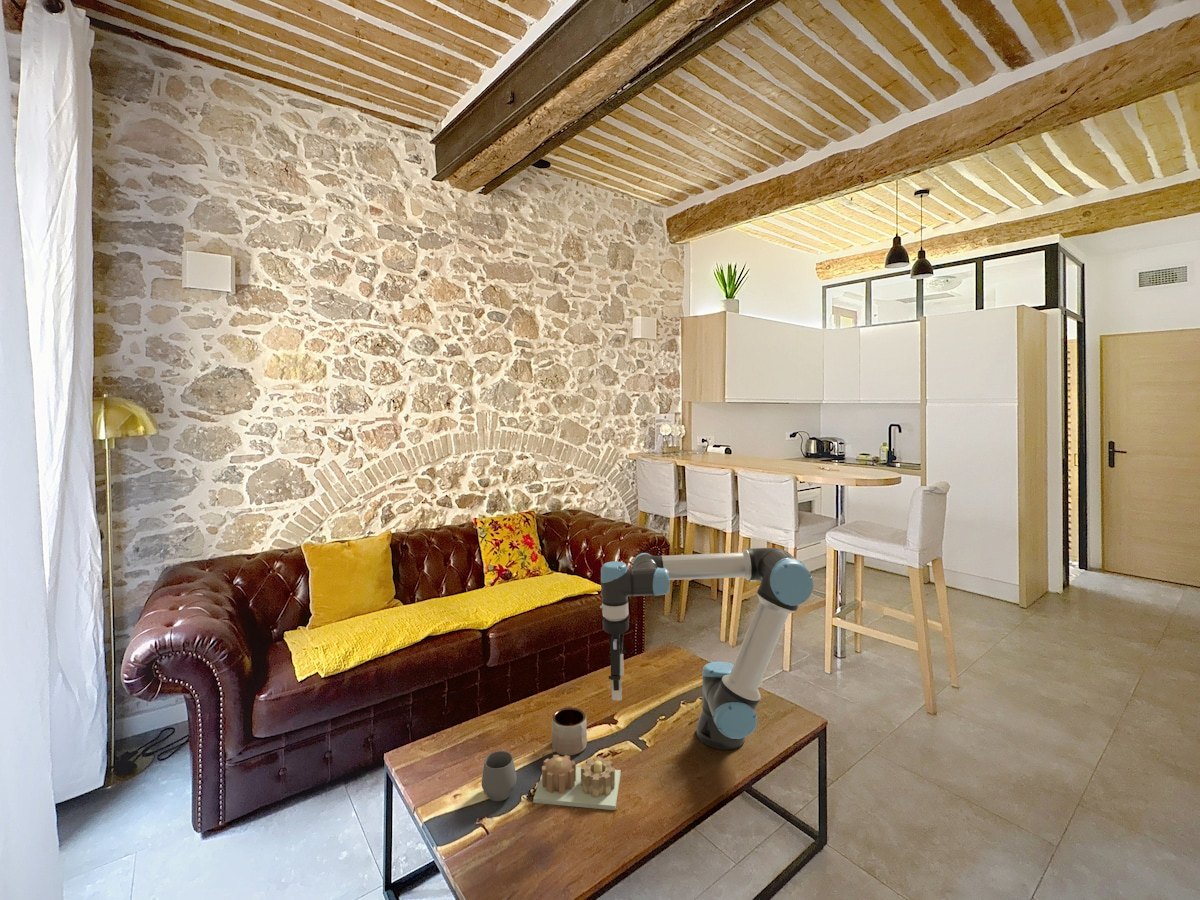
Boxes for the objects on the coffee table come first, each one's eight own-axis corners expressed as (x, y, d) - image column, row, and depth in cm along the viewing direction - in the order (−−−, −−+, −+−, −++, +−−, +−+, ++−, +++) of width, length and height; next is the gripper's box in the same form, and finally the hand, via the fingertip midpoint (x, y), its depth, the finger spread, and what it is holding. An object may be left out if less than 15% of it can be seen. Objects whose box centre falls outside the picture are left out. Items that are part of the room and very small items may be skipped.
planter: (582, 759, 163) (582, 728, 162) (547, 754, 165) (547, 724, 164) (590, 737, 173) (590, 708, 172) (557, 733, 175) (556, 705, 175)
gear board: (620, 774, 156) (620, 748, 155) (615, 810, 142) (615, 782, 141) (545, 767, 159) (545, 742, 158) (533, 802, 145) (532, 775, 144)
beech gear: (616, 775, 154) (616, 758, 153) (612, 798, 144) (612, 781, 144) (584, 772, 155) (584, 756, 154) (578, 795, 146) (578, 778, 145)
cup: (500, 812, 142) (499, 775, 141) (474, 798, 147) (473, 763, 146) (524, 790, 150) (523, 755, 149) (498, 777, 155) (497, 744, 154)
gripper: (605, 600, 169) (608, 666, 171) (598, 634, 144) (601, 710, 146) (629, 600, 168) (632, 666, 170) (626, 634, 144) (629, 711, 146)
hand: (618, 687), depth 158 cm, fingers open, 13 cm apart
